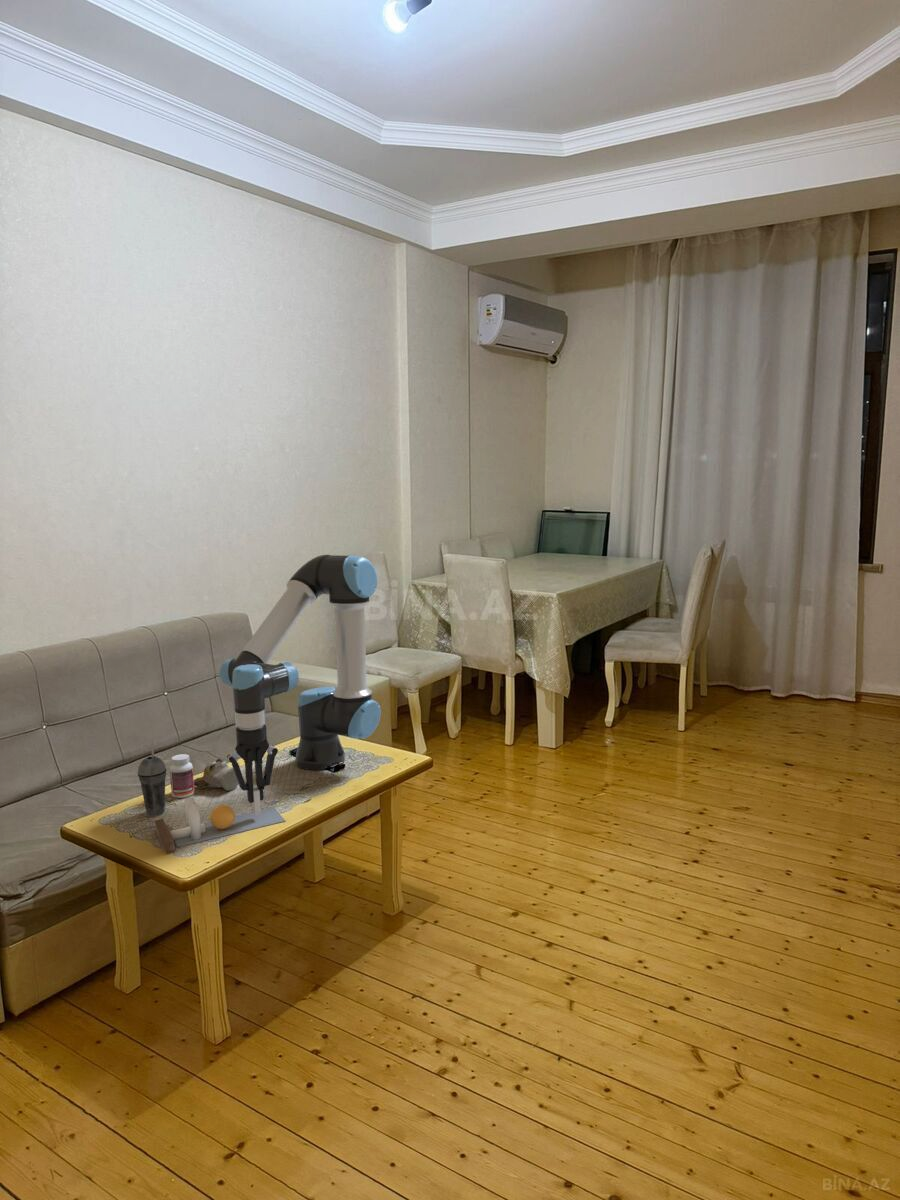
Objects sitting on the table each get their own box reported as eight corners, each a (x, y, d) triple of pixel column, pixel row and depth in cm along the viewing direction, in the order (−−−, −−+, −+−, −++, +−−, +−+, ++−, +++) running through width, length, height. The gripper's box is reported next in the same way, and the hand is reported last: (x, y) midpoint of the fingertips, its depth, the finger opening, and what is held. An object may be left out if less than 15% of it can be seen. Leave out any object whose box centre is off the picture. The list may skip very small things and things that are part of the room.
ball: (203, 812, 203) (215, 828, 205) (209, 821, 198) (222, 838, 200) (223, 796, 205) (235, 813, 207) (229, 805, 200) (242, 822, 202)
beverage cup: (135, 816, 211) (128, 744, 208) (154, 805, 218) (148, 735, 215) (156, 820, 209) (150, 747, 206) (175, 809, 215) (170, 738, 212)
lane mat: (273, 807, 215) (273, 807, 215) (285, 821, 206) (285, 820, 206) (169, 831, 202) (169, 831, 202) (177, 847, 193) (177, 846, 193)
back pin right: (195, 827, 204) (193, 796, 202) (197, 831, 202) (195, 799, 200) (186, 830, 203) (183, 798, 201) (188, 833, 201) (185, 801, 199)
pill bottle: (199, 793, 226) (196, 756, 224) (179, 800, 221) (176, 762, 219) (187, 788, 230) (184, 751, 228) (167, 795, 225) (164, 757, 223)
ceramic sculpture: (223, 767, 221) (183, 762, 228) (226, 797, 222) (187, 791, 229) (249, 755, 231) (210, 751, 238) (252, 784, 232) (213, 779, 239)
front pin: (202, 821, 202) (168, 829, 198) (205, 824, 200) (169, 832, 196) (203, 830, 202) (168, 839, 198) (205, 834, 200) (170, 842, 196)
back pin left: (200, 835, 199) (197, 803, 198) (202, 839, 197) (199, 806, 196) (190, 837, 198) (187, 805, 197) (192, 841, 196) (189, 808, 195)
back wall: (164, 829, 203) (163, 818, 203) (174, 851, 191) (173, 840, 191) (155, 831, 202) (154, 820, 202) (166, 853, 190) (165, 842, 190)
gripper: (271, 717, 210) (276, 802, 214) (221, 726, 204) (227, 813, 208) (280, 725, 204) (285, 812, 207) (229, 734, 197) (235, 824, 201)
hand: (256, 812), depth 207 cm, fingers closed
